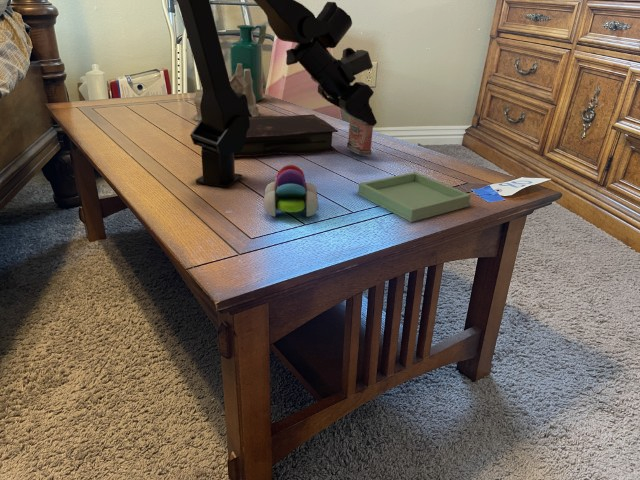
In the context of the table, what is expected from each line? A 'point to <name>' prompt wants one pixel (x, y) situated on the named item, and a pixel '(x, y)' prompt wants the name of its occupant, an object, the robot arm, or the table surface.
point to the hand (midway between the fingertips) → (367, 119)
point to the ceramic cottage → (239, 86)
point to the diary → (287, 136)
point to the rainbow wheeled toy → (290, 193)
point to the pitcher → (249, 56)
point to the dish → (414, 196)
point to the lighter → (360, 136)
